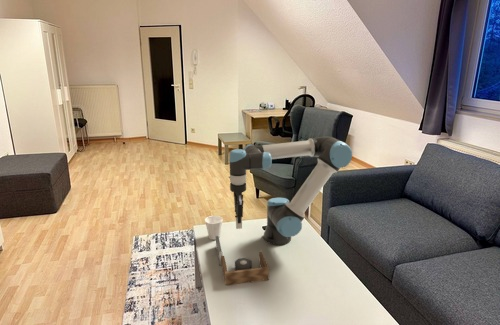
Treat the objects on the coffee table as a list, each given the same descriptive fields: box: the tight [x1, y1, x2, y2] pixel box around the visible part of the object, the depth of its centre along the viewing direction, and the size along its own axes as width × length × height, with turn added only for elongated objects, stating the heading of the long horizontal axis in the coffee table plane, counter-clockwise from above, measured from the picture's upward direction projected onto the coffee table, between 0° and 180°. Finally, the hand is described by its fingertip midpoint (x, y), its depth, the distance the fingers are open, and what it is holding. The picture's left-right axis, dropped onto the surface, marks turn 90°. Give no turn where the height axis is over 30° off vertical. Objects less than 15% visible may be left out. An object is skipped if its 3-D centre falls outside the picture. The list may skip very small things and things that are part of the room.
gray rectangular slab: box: [215, 236, 224, 267], centre depth 173 cm, size 18×2×7 cm, turn 11°
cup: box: [204, 215, 224, 241], centre depth 190 cm, size 10×10×11 cm
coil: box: [234, 257, 253, 271], centre depth 163 cm, size 8×8×4 cm
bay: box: [221, 251, 270, 286], centre depth 159 cm, size 19×14×6 cm
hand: (239, 227), depth 168 cm, fingers closed
